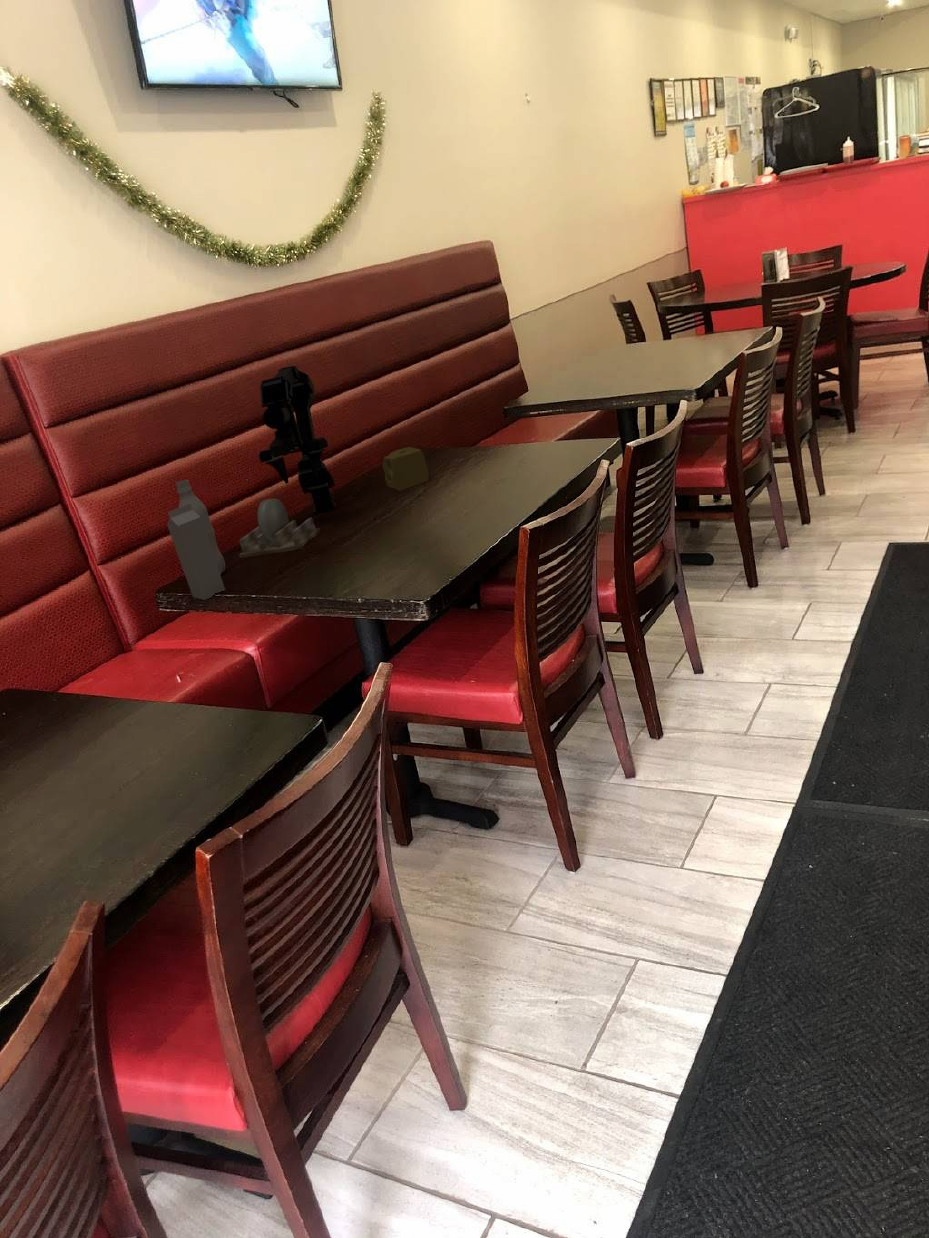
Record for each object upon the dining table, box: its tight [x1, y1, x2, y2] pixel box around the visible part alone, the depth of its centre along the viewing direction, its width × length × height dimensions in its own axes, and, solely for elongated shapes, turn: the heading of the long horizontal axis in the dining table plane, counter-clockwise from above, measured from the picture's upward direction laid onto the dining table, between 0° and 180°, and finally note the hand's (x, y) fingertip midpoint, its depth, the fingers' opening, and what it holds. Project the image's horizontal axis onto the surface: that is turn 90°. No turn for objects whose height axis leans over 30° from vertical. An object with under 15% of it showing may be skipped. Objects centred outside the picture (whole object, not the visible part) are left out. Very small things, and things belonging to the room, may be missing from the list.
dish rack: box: [238, 517, 322, 559], centre depth 265 cm, size 14×18×4 cm
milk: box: [166, 504, 226, 601], centre depth 235 cm, size 6×6×22 cm
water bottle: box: [175, 479, 226, 576], centre depth 249 cm, size 7×7×25 cm
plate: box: [257, 498, 290, 546], centre depth 264 cm, size 12×3×12 cm, turn 165°
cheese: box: [382, 446, 430, 492], centre depth 296 cm, size 10×11×10 cm
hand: (301, 480), depth 272 cm, fingers open, 9 cm apart
